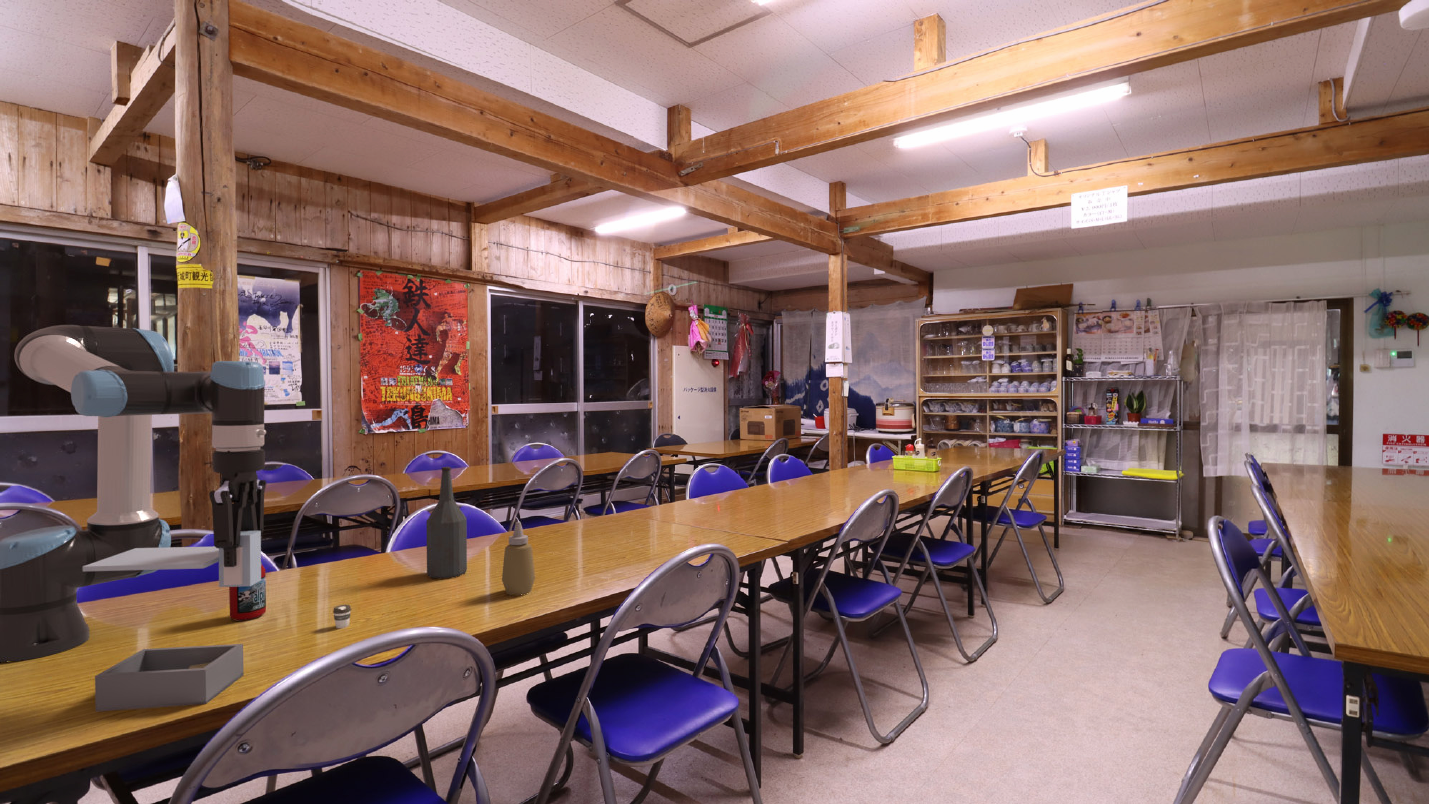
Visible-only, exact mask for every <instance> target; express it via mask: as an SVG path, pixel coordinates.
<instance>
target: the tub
mask: <svg viewBox="0 0 1429 804" xmlns="http://www.w3.org/2000/svg"><path fill="white" fill-rule="evenodd" d="M205 663H210V664H208V665H207V666H206V667H204V668H195V669H189V667H190V666H193V665H199V664H205ZM244 674H245V672H244V643H234V644H233V643H232V644H217V645H215V644H213V645H212V644H211V645H195V646H193V645H192V646H179V647H159V648H157V647H156V648H143V649H141V650H139V651H138V652H136V653H134V654H133V655H130V656H128V657H127V658H125V659H123V660H122V661H120V662H118V663H116V664H114V665H112V666H110V667H109V668H106V669H105V670H104V671H101V672H100V673H98V674H96V675H94V691H95V693H94V695H95V697H94V698H95V712H107V711H108V712H110V711H123V710H135V709H136V710H139V709H150V708H165V707H166V708H168V707H181V706H195V705H197V706H198V705H206V704H208V703H210V702H211V701H212V700H213V699H215V698H216V697H217V696H219V695H220V694H222V693H223V692H224V691H225V690H226V689H227V688H229V687H230V686H231V685H233V684H234V683H235V682H236V681H238V680H239V679H241V678H242V677H243V676H244Z"/></svg>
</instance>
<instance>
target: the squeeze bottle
mask: <svg viewBox="0 0 1429 804" xmlns="http://www.w3.org/2000/svg"><path fill="white" fill-rule="evenodd" d="M522 526H523V525H522V523H521V521H516V522H515V524H514V529H513V533H512V535H510V536H508V545H506V546H505V548H504V556H503V565H502V573H501V575H502V577H501V581H502V584H503V587H504V590H505V593H506V595H508V594H509V595H508V596H511V595H519V596H522V595H521V594H525V595H528V594H529V592H530V591H531V592H532V588H533V585H534V582H535V579H536V574H535V565H534V564H535V563H534V556H533V547H532V545H531V543H529V536H528V535H526V534H524V530H523V527H522ZM531 592H530V593H531ZM527 593H528V594H527Z"/></svg>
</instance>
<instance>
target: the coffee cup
mask: <svg viewBox="0 0 1429 804" xmlns="http://www.w3.org/2000/svg"><path fill="white" fill-rule="evenodd" d="M351 611H352V608H351V605H350V604H342V605H341V604H340V605H337V606H334V607H333V611H332V614H333V619H334V623H335V628H336V629H345V628H348V627H349V625H350V618H351Z"/></svg>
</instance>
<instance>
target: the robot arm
mask: <svg viewBox="0 0 1429 804" xmlns="http://www.w3.org/2000/svg"><path fill="white" fill-rule="evenodd" d="M13 354H14V361H15V363H16V366H17V368H18V369H19V370H20V371H21V373H22V374H24V375H25V376H26V377H28V378H29V379H32V380H34V381H35V382H38V383H41V384H44V385H51V386H53V385H54V386H57V387H59V388H61V389H63V390H65V391H66V392H69V393H70V397H71V398H70V399H71V403H72V405H73V407H74V408H75V411H76V412H77V413H78V415H80V416H83V417H97V477H96V478H97V487H96V488H97V489H96V490H97V491H96V493H97V495H96V497H97V499H96V511H95V513H93V514H92V515H90V516H89V517H88V518H87V520H86V529H84V530H83V529H82V530H77V529H76V528H75V526H74V525H70V524H68V525H67V524H66V525H65V524H64V525H63V524H61V525H55V526H48V527H41V528H36V529H31V530H27V531H26V530H25V531H23V532H20V533H19V532H18V533H16V534H13V535H9V536H7V537H5V538H3V539H1V540H0V662H7V661H16V662H21V660H23V661H29V660H34V659H39V658H43V657H47V656H52V655H55V654H58V653H59V654H60V653H62V651H63V652H65V651H68V649H69V650H72V649H74V648H77V647H78V646H80V645H82V644H84V643H86V642H87V641H89V639H90V627H89V625H88V623H87V621H86V619H85V618H84V615H83V613H82V610H81V608H80V607H79V605H78V601H77V599H78V597H77V590H78V589H80V588H84V587H89V586H94V585H100V584H105V583H110V582H114V581H119V580H125V579H134V578H138V577H141V576H144V575H148V574H152V573H155V572H157V571H158V570H120V571H83V566H86V565H89V564H92V563H94V562H97V561H100V560H103V559H106V558H109V557H112V556H115V555H117V554H120V553H123V552H126V551H129V550H132V549H135V548H169V547H171V544H172V535H171V533H170V530H171V529H170V525H169V523H167V521H165V520H164V519H160V513H158V512H157V511H156V510H154V509H153V508H152V507H151V477H152V476H151V474H152V473H151V470H152V469H151V468H152V467H151V466H152V461H151V460H152V415H158V416H161V415H191V414H192V415H193V414H211V427H212V428H211V433H212V434H211V436H212V437H211V446H212V448H214V449H216V450H214V451H213V452H212V457H211V458H212V459H211V460H212V471H213V472H214V473H218V474H220V475H221V477H220V481H219V488H218V489H217V490H210V491H209V494H208V496H209V500H210V503H211V508H212V509H211V510H212V511H211V512H212V514H211V515H212V527H213V528H212V529H213V530H212V531H213V547H216V548H223V561H224V585H241V584H243V546H242V547H239V545H240V534H241V531H261V540H262V538H263V537H264V536H263V533H264V522H265V521H264V516H265V515H264V513H265V492H266V486H267V480H266V479H259V478H258V473H257V472H259V471H262V470H264V469H265V467H266V456H265V455H266V453H265V452H266V450H264V449H263V448H261V447H263V446H264V445H265V435H266V434H267V430H266V429H265V389H266V388H265V386H266V380H265V376H264V375H265V374H264V373H265V372H264V367H263V365H262V363H260V362H258V361H240V360H236V361H235V360H233V361H232V360H217V361H215V362H213V363H212V365H211V371H175V362H174V357H173V352H172V349H171V347H170V345H169V343H168V341H167V340H166V338H165V337H164V336H163V335H162V334H161V333H159V332H157V331H155V330H150V329H149V330H148V329H142V328H135V327H131V328H129V327H126V328H125V327H110V326H109V327H108V326H107V327H106V326H92V325H91V326H90V325H76V324H61V325H52V326H47V327H44V328H40V329H37V330H35V331H32V332H31V333H29V334H27V335H26V336H24V337H23V339H21V340H20V341H19V342H18V344H17V345H16V347H15V350H14V353H13ZM76 646H77V647H76ZM73 647H74V648H73ZM28 659H29V660H28ZM7 663H8V662H7Z"/></svg>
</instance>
